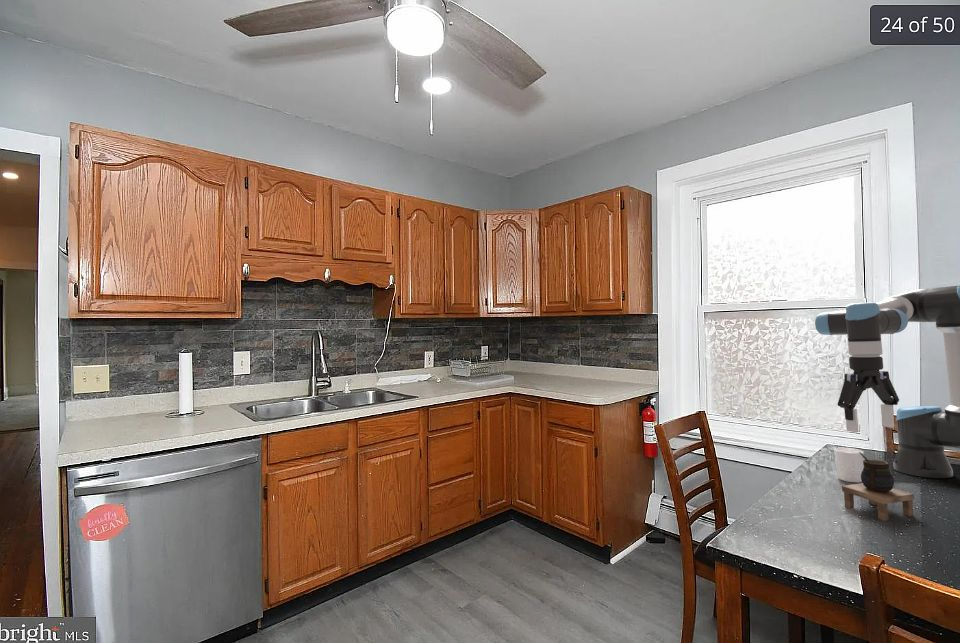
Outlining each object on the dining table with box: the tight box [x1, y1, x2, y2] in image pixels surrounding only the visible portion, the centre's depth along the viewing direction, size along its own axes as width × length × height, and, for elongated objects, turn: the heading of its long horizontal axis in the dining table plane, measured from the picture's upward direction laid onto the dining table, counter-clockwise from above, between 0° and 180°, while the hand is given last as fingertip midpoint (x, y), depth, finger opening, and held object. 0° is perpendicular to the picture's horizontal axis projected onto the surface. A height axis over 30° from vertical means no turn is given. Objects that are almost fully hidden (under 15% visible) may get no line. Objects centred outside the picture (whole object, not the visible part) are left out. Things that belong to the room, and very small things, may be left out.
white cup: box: [833, 447, 865, 484], centre depth 156 cm, size 8×8×10 cm
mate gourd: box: [859, 452, 895, 492], centre depth 129 cm, size 7×8×10 cm
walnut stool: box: [841, 482, 915, 522], centre depth 129 cm, size 11×11×6 cm
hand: (870, 429), depth 131 cm, fingers open, 13 cm apart
